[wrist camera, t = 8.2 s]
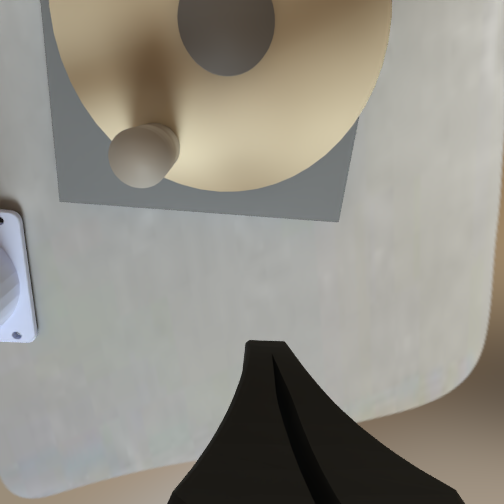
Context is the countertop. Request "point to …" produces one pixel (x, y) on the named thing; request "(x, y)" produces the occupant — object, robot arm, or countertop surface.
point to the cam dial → (221, 83)
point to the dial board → (166, 191)
